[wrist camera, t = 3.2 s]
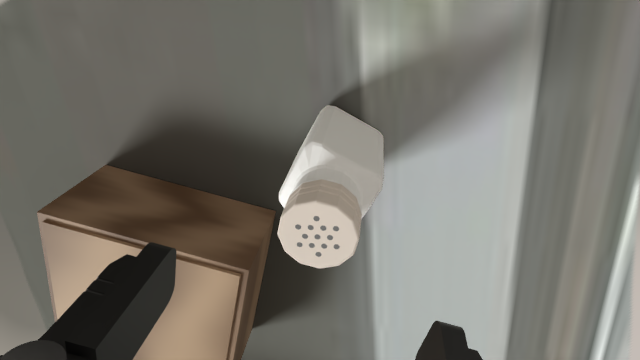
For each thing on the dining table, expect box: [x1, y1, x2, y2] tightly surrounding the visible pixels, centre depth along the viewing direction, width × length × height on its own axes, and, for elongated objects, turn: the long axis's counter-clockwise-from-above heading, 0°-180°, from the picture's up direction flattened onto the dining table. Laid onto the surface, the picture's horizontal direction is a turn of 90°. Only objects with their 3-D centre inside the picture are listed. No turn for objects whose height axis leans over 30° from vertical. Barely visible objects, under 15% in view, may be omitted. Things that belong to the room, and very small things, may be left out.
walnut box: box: [37, 165, 276, 360], centre depth 27 cm, size 12×12×6 cm
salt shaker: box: [277, 105, 384, 269], centre depth 19 cm, size 4×4×10 cm
